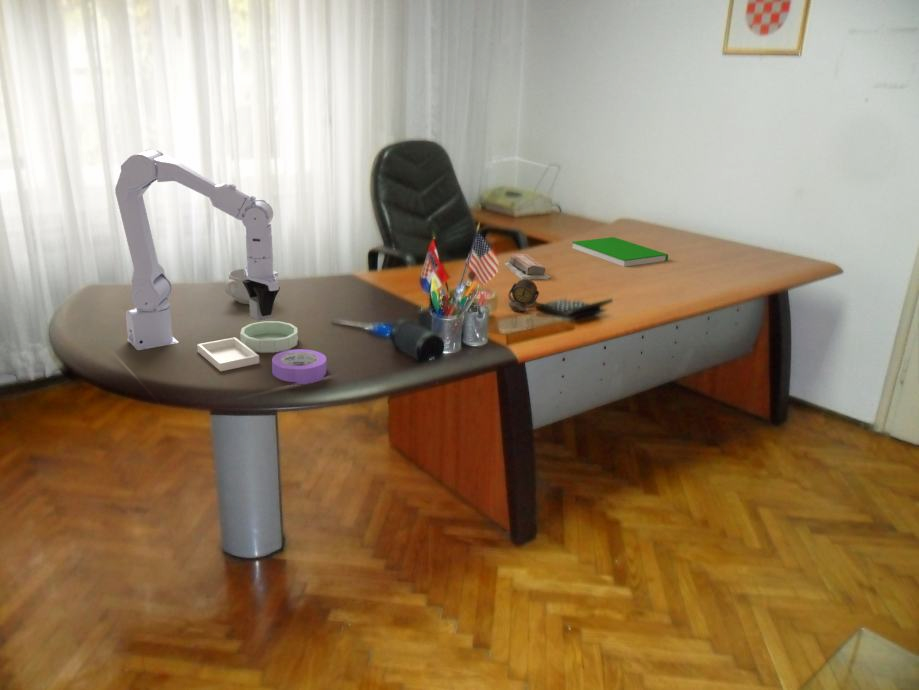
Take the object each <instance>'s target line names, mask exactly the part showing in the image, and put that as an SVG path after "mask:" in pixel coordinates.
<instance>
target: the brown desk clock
mask: <svg viewBox="0 0 919 690" xmlns="http://www.w3.org/2000/svg"><path fill="white" fill-rule="evenodd" d="M511 294H512V296H511ZM539 295H540V291H539V290H538V287H537V285H536V283H535V282H534V280H529V279H520V280H518V281H517V282H516V283H513V285H512V286H511V288H510V289H509V291H508V295H507V296H508V299H509V302H508V306H509V308H510V309H511V310H512V311H514V312H518V311H524V312H525V311H527V308H529V307H532V306H534V304H536V302H537V299H538V298H539Z"/></svg>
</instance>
